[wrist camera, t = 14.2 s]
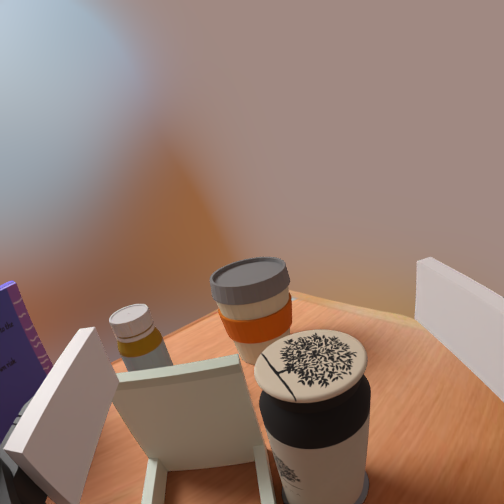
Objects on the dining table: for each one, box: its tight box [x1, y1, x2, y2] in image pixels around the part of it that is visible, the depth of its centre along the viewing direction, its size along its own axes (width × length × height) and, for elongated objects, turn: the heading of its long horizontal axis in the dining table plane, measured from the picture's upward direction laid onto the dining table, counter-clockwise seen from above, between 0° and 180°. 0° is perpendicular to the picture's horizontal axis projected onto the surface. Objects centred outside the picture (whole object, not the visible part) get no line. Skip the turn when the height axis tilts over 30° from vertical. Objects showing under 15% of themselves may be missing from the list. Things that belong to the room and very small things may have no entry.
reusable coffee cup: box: [210, 257, 292, 365], centre depth 51 cm, size 13×13×15 cm
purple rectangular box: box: [0, 281, 53, 445], centre depth 34 cm, size 17×5×24 cm, turn 149°
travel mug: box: [254, 330, 371, 504], centre depth 22 cm, size 8×8×18 cm
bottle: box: [109, 304, 174, 372], centre depth 44 cm, size 7×7×15 cm
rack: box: [112, 354, 277, 504], centre depth 21 cm, size 19×14×15 cm
